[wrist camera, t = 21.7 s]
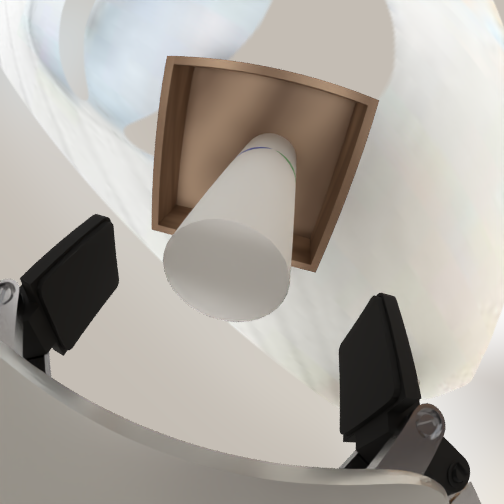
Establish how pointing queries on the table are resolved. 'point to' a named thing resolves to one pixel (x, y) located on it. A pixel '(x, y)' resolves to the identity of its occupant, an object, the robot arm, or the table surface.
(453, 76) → the table surface
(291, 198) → the tube
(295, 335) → the table surface
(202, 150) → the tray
